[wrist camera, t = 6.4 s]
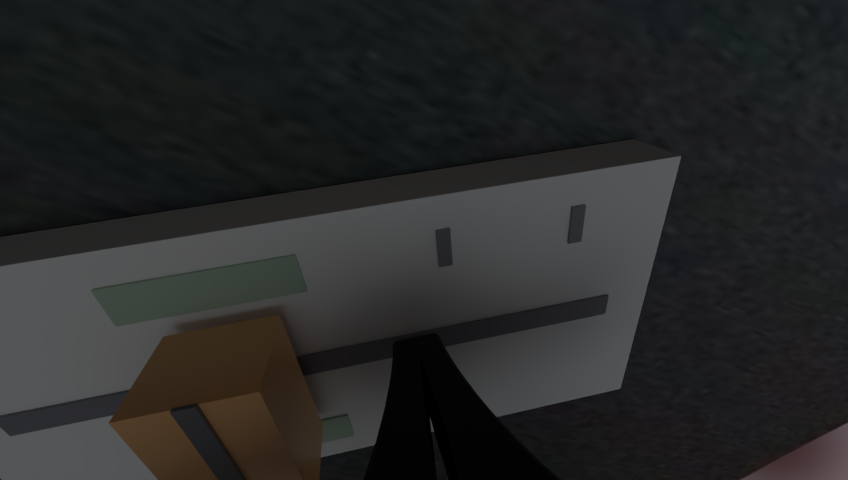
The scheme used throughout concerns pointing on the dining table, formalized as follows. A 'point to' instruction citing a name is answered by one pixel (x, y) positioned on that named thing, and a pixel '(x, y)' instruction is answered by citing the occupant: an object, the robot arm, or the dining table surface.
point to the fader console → (337, 295)
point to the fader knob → (223, 407)
